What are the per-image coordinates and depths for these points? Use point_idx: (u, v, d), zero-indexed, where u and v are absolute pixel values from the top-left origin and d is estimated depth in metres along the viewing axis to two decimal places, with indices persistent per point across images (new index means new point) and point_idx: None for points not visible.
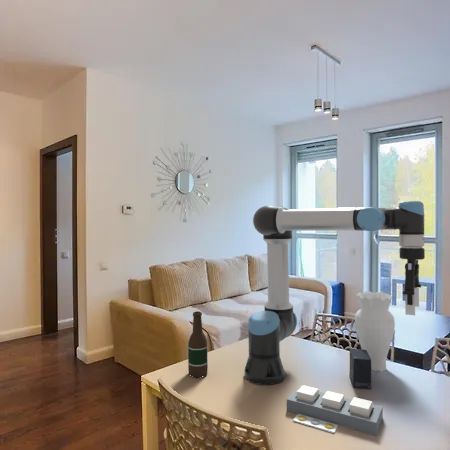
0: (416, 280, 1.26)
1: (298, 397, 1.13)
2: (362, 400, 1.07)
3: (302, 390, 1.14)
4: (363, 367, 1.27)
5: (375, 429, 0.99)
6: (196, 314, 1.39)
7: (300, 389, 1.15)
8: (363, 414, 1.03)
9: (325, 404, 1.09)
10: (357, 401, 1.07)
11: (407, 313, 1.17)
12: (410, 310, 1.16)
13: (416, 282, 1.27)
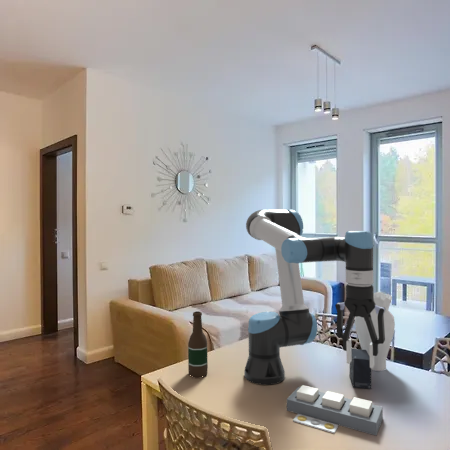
0: (368, 330, 1.03)
1: (298, 397, 1.13)
2: (362, 400, 1.07)
3: (302, 390, 1.14)
4: (363, 367, 1.27)
5: (375, 429, 0.99)
6: (196, 314, 1.39)
7: (300, 389, 1.15)
8: (363, 414, 1.03)
9: (325, 404, 1.09)
10: (357, 401, 1.07)
11: None
12: None
13: (370, 334, 1.03)
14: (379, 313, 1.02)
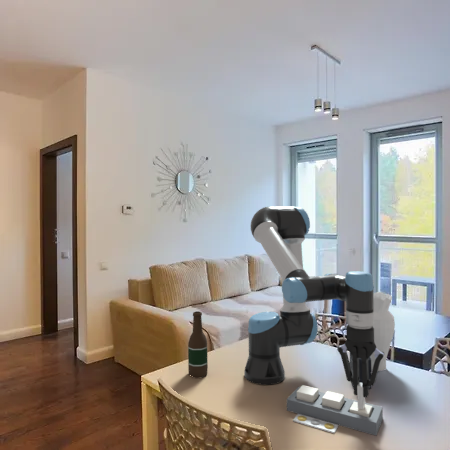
0: None
1: (298, 397, 1.13)
2: None
3: (302, 390, 1.14)
4: None
5: (375, 429, 0.99)
6: (196, 314, 1.39)
7: (300, 389, 1.15)
8: None
9: (325, 404, 1.09)
10: (357, 405, 1.07)
11: None
12: None
13: None
14: (377, 358, 1.02)
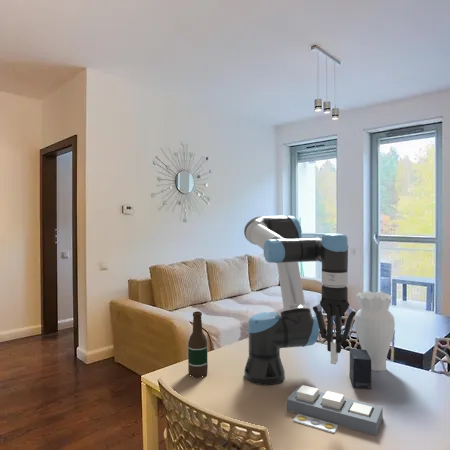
0: (336, 329, 1.09)
1: (298, 397, 1.13)
2: (362, 405, 1.07)
3: (302, 390, 1.14)
4: (363, 367, 1.27)
5: (375, 429, 0.99)
6: (196, 314, 1.39)
7: (300, 389, 1.15)
8: None
9: (325, 404, 1.09)
10: (357, 406, 1.07)
11: None
12: None
13: (336, 332, 1.09)
14: (350, 315, 1.06)
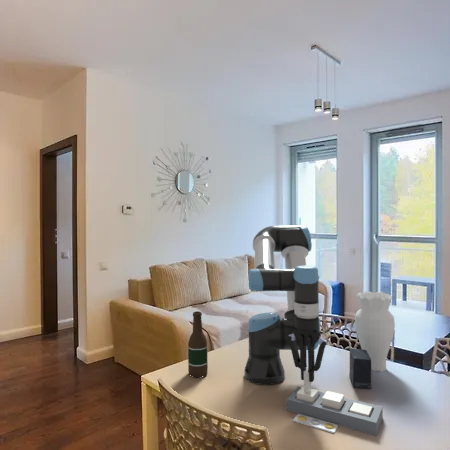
0: None
1: (298, 398, 1.13)
2: (362, 405, 1.07)
3: (302, 391, 1.14)
4: (363, 367, 1.27)
5: (375, 429, 0.99)
6: (196, 314, 1.39)
7: (300, 390, 1.15)
8: None
9: (325, 404, 1.09)
10: (357, 406, 1.07)
11: None
12: None
13: None
14: (321, 345, 1.10)
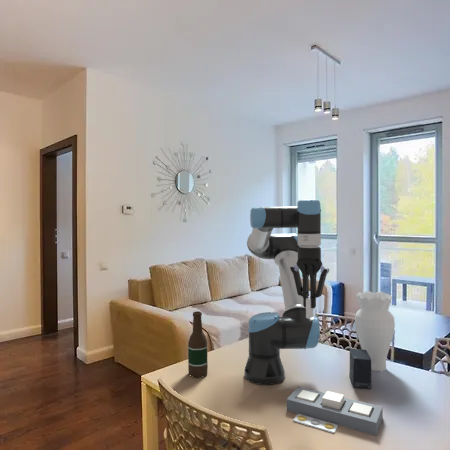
0: None
1: None
2: (362, 405, 1.07)
3: (303, 395, 1.14)
4: (363, 367, 1.27)
5: (375, 429, 0.99)
6: (196, 314, 1.39)
7: (300, 394, 1.15)
8: None
9: (325, 404, 1.09)
10: (357, 406, 1.07)
11: None
12: None
13: None
14: (322, 272, 1.17)
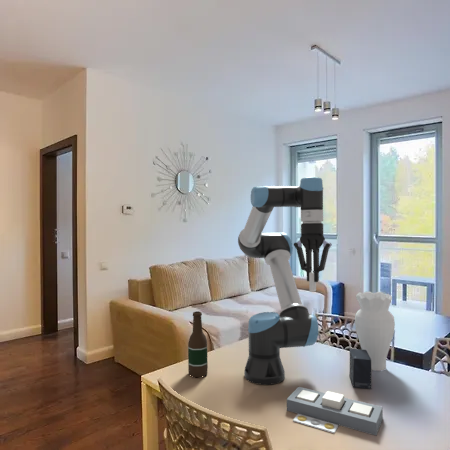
0: None
1: None
2: (362, 405, 1.07)
3: (303, 395, 1.14)
4: (363, 367, 1.27)
5: (375, 429, 0.99)
6: (196, 314, 1.39)
7: (300, 394, 1.15)
8: None
9: (325, 404, 1.09)
10: (357, 406, 1.07)
11: None
12: None
13: None
14: (325, 246, 1.22)
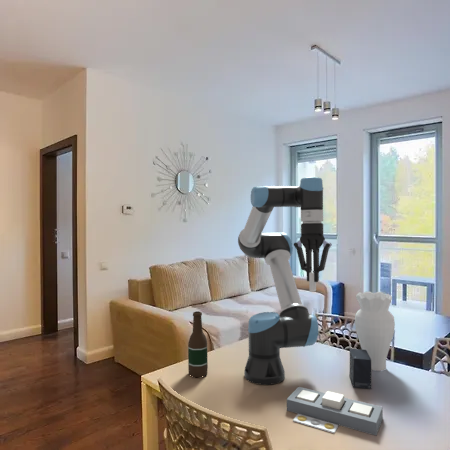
0: None
1: None
2: (362, 405, 1.07)
3: (303, 395, 1.14)
4: (363, 367, 1.27)
5: (375, 429, 0.99)
6: (196, 314, 1.39)
7: (300, 394, 1.15)
8: None
9: (325, 404, 1.09)
10: (357, 406, 1.07)
11: None
12: None
13: None
14: (325, 246, 1.22)
